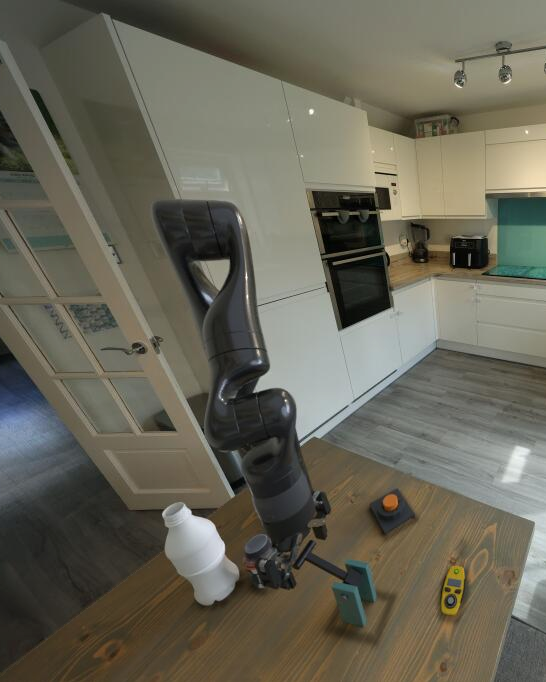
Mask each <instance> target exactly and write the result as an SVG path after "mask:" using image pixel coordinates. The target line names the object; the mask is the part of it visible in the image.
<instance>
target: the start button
mask: <svg viewBox="0 0 546 682" xmlns="http://www.w3.org/2000/svg"><path fill="white" fill-rule="evenodd" d="M383 506H384V509H385V510H386V511H393V510H395V509H396V508H397V506H398V499H397V496H396V495H394V494H390V495H388V496H386V497H385V498H384V500H383Z"/></svg>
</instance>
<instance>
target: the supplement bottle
mask: <svg viewBox="0 0 546 682" xmlns="http://www.w3.org/2000/svg"><path fill="white" fill-rule="evenodd" d="M243 549H244V553H243V556H242V564H243V566H244V568H245V571H246V573H247V574H248V577H249V579H250V581H251V583H252V585H253V587H254V588H256V589H264V588H266V587H263V586H262V584H261V581H260V578H259V576H258V573H257V570H256V568H255V562H256V560H257V559H258V558H259V557H262V558H264V557H265V556H266V555H267V553H268V552H269V551H270V550H271V539H270V538H269V537H268V536H267V534H265V533H260V534H256V535H255V536H253V537H251V538H250V539H249V540H248V541H246V544H245V545H244V548H243ZM281 568H282V569H284V568H285V564H283V563H282V565H281Z"/></svg>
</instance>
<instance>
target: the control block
mask: <svg viewBox="0 0 546 682" xmlns="http://www.w3.org/2000/svg"><path fill="white" fill-rule="evenodd" d="M390 494H394V495H396V496H397V499H398V506H397V508H396V509H395V510H393V511H386V510H385V509H384V506H383V500H384V498H385V497H386V496H388V495H390ZM368 505H369V510H370V511H371V512H372V514H373V515H374V517H375V518H376V520H377V522H378V525H379V527H380V528H381V530H382V532H383V533H384V535H385V536H386V535H388V534H390V533H391V532H393V531H394V530H395V529H397V528H399V527H400V526H402V525H403V524H405V523H406V522H408V521H409V520H411V519H412V520H416V513H415V512H414V510H413V508H411V506H410V504H409V503H408V501H407V500H406V498H405V497H404V496H403V494H402V492H401V491H400V490H399V488H398V487H397V488H394V489H393V490H391V491H389V492H388V493H386V494H384V495H383V496H381V497H379V498H377V499H376V500H373V501H372V502H370V503H369V504H368Z"/></svg>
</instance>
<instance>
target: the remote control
mask: <svg viewBox="0 0 546 682" xmlns="http://www.w3.org/2000/svg"><path fill="white" fill-rule="evenodd" d="M465 591H466V578H465V568H464V567H463V566H459V565H451V566H450V568H449V569H448V572H447V573H446V575H445V577H444V579H443V583H442V586H441V591H440V600H441V601H440V603H441V604H440V607H441V608H440V609H441V613H442V614H444V615H447V616H455V615H457V613H458V610H459V608H460V606H461V604H462V602H463V600H464V597H465Z"/></svg>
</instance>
